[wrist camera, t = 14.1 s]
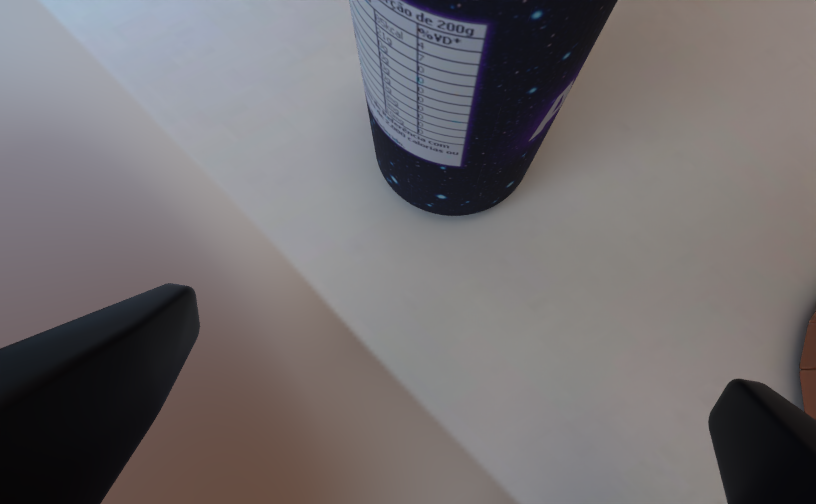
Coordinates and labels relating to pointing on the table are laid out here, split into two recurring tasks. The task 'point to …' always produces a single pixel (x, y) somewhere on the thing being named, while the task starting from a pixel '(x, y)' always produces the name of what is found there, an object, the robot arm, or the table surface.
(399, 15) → the beverage can
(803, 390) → the bowl
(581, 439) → the table surface
